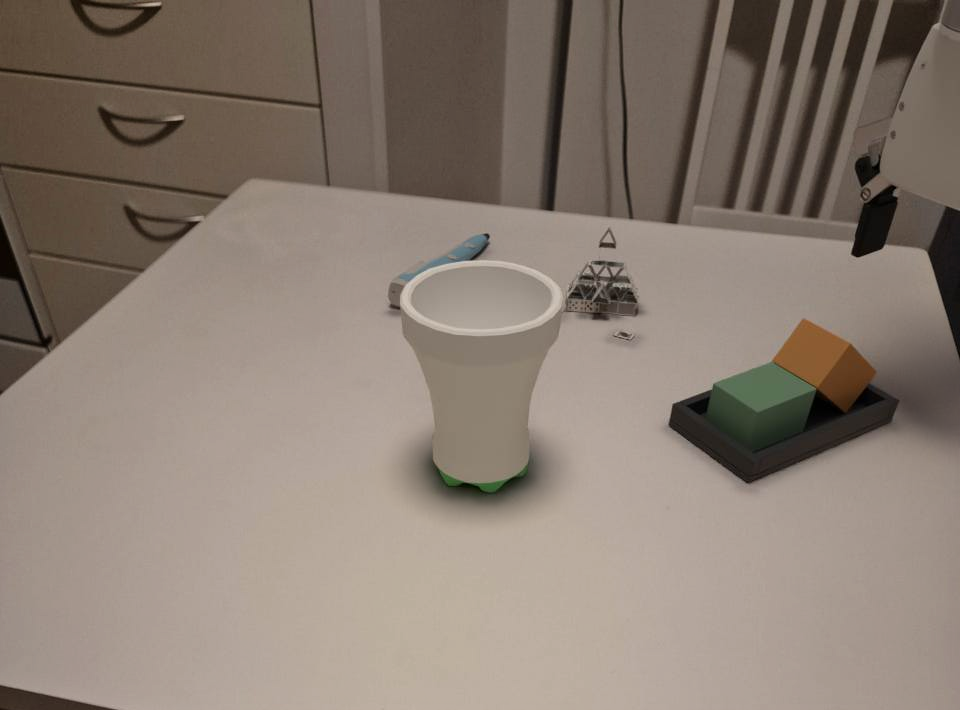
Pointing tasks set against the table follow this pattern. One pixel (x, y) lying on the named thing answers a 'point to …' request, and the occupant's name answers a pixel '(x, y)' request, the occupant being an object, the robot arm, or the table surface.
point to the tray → (818, 435)
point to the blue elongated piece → (437, 264)
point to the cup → (481, 361)
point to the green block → (760, 406)
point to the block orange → (825, 364)
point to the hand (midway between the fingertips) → (915, 274)
